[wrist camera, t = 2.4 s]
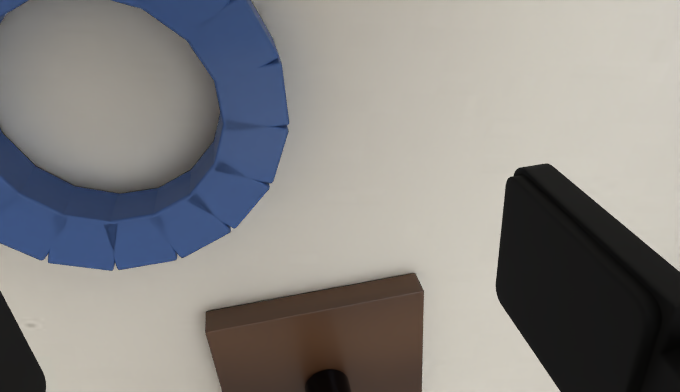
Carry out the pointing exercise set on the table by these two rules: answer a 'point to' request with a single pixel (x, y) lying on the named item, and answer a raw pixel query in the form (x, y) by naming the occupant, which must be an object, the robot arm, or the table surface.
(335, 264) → the table surface
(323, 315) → the stand
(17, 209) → the ring
